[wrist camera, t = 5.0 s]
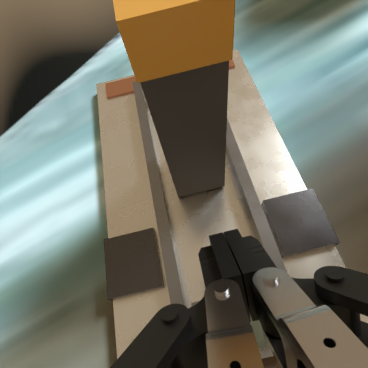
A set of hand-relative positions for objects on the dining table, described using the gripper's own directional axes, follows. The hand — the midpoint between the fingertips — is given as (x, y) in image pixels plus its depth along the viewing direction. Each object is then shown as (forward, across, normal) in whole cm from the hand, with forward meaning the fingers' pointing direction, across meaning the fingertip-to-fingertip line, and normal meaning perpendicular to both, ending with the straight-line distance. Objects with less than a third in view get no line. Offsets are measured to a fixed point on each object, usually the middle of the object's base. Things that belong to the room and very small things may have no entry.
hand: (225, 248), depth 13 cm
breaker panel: (+9, 0, -1) cm, 9 cm away
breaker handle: (+9, 0, -2) cm, 9 cm away
